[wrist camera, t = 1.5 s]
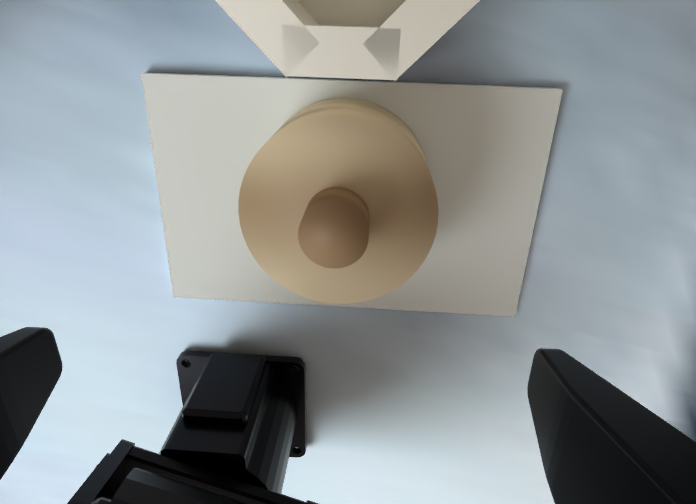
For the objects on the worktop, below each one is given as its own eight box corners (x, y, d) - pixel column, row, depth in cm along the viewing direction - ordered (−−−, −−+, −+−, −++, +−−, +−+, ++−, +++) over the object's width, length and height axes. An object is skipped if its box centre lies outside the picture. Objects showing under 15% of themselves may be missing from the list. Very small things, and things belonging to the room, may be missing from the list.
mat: (513, 312, 23) (515, 316, 22) (176, 292, 23) (173, 297, 23) (559, 88, 18) (562, 89, 18) (145, 72, 19) (141, 73, 19)
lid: (420, 260, 21) (431, 334, 16) (267, 252, 22) (232, 322, 17) (436, 101, 18) (457, 130, 13) (259, 94, 19) (215, 120, 14)
